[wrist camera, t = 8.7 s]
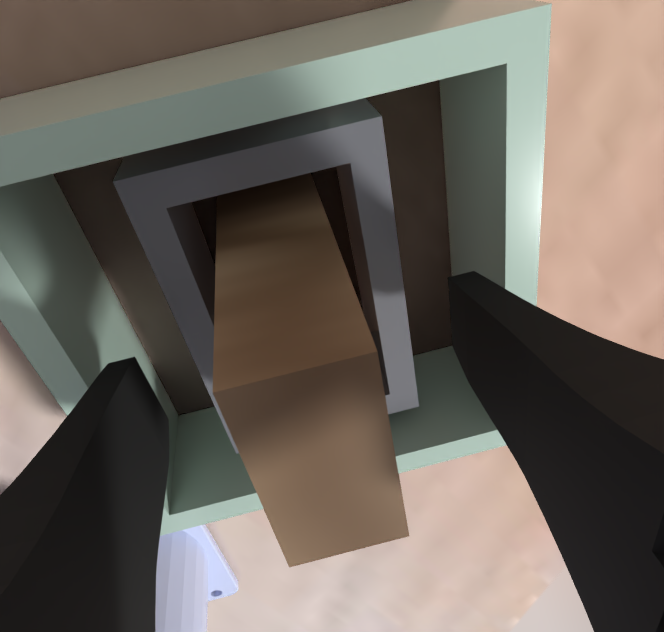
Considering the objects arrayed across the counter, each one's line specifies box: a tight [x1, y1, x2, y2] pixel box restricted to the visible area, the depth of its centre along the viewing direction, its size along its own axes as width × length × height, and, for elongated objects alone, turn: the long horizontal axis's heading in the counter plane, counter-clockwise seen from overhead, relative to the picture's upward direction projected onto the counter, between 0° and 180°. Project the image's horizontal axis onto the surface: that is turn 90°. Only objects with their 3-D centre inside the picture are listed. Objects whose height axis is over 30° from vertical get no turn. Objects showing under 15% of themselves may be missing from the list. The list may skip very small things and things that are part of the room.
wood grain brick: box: [213, 173, 409, 567], centre depth 13 cm, size 2×5×8 cm, turn 10°
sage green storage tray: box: [0, 0, 552, 536], centre depth 14 cm, size 12×12×4 cm
